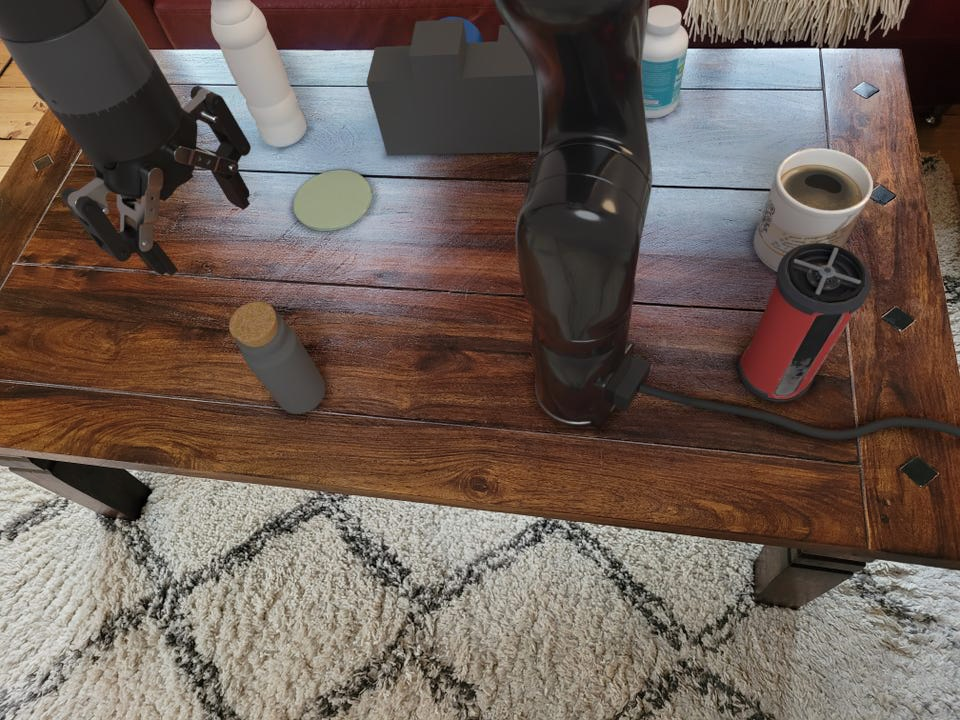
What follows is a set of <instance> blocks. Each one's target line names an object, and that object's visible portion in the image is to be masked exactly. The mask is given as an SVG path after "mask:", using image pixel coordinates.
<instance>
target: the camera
mask: <svg viewBox="0 0 960 720" xmlns="http://www.w3.org/2000/svg"><path fill="white" fill-rule="evenodd" d="M371 58H372V59H371V62H370V66H369V70H368V74H367V77H366V81H365V82H366V85H367V89H368V92H369V93H368V94H369V96H370V99H371V103H372V107H373V111H374V114H375V118H376V121H377V124H378V128H379V131H380V135H381V139H382V142H383V146H384V149H385V152H386V156H388V157H389V156H421V155H424V156H425V155H462V154H496V153H498V154H499V153H501V154H502V153H504V154H505V153H537V152H538V151H539V139H540V126H539V106H538V95H537V87H536V81H535V76H534V73H533V69H532V66H531V64H530V61H529V59H528V57H527V56H526V54H525V52H524V51H523V49H522V48H521V46H520V45H519V43H518V42H517V41H516V39H515V38H514V36H513V35H512V33H511V32H510V30H509V29H508V27H507V25H506V24H499V26H498V37H497V41H483V37H482V34H481V32H480V30H479V28H478V27H477V26H475V24H474V23H472V22H471V21H469V20H468V19H466V18H464V17H459V16H447V17H444V18H440V19H438V20H419V21H415V24H414V29H413V33H412V38H411V43H410V45H395V46H375V47H374V49H373V54H372V57H371Z"/></svg>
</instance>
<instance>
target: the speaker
mask: <svg viewBox="0 0 960 720" xmlns="http://www.w3.org/2000/svg"><path fill="white" fill-rule="evenodd" d="M871 290H872V277H871V274H870V272H869V269H868V268H867V266H866V265H865V264H864V262H863V261H862V260H861V259H860V258H859V257H858V256H857V255H856V254H854V253H852V252H851V251H850V250H848V249H846V248H844V247H843V248H841V247H839V246H836V245H831V244H825V243H810V244H804V245H800V246H798V247H795V248H794V249H792V250H790V251H789V252H787V253H786V254H785V255H784V257H783V258H782V259H781V261H780V263H779V266H778V270H777V272H776V280H775V283H774V286H773V288H772V291H771V293H770V295H769V298H768V301H767V304H766V305H765V309H764V311H763V313H762V316H761V318H760V320H759V323H758V325H757V327H756V329H755V331H754V333H753V335H752V338H751V340H750V342H749V343H748V345H746V347H745V348H744V349H743V350H742V351H741V354H740V356H739V358H738V361H737V372H738V376H739V378H740V380H741V382H742V384H743V385H744V386H745V387H746V388H747V390H749V392H751V393H752V394H753V395H755V396H757V397H759V398H762V399H764V400H765V401H766V400H767V401H771V402H776V403H778V402H779V403H781V402H782V403H783V402H784V403H785V402H791V401H794V400H797V399H799V398H800V397H802V396H803V395H805V394H806V393H807V391H809V389H810V388H811V386H812V384H813V383H814V380H815V376H816V374H817V373H818V371H819V370H820V369H821V366H822V365H823V363H824V362H825V361H826V360H827V359H826V358H827V357H828V355H829V354H830V353H831V351H832V349H833V348H834V346H835V344H836V343H837V342H838V340H839V338H840V337H841V336H842V333H843V332H844V330H845V328H847V325H848V324H849V323H850V321H851V320H852V318H853V316H854V315H855V313H856V312H857V311H858V310H859V309H860V308H861V307H862V306H863V304H864V303H865V301H867V298H868V297H869V295H870V293H871Z"/></svg>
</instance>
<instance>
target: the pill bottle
mask: <svg viewBox="0 0 960 720" xmlns="http://www.w3.org/2000/svg"><path fill="white" fill-rule="evenodd" d="M688 47H689V34H688V32H687V29H686V28H685V27H684V26H683V25H682V12H681V10H679V8H677V7H675V6H673V5H668V4H667V5H666V4H659V5H654V6H652V7H649V12H648V20H647V27H646V34H645V41H644V48H643V57H642V86H643V97H644V107H645V116H646V119H657V118H658V119H659V118H663V117H665V116H667V115H669V114H671V113H672V112H674V110H675V109H676V108H677V106H678V103H679V99H680V93H681V89H682V82H683V76H684V70H685V65H686V58H687V52H688Z"/></svg>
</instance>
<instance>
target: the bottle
mask: <svg viewBox="0 0 960 720" xmlns="http://www.w3.org/2000/svg"><path fill="white" fill-rule="evenodd" d="M228 329H229V332H230V335H231V336H232V337H233V338H234V340H235V344H236V345H237V347H238V348H239V349H240V351H241V355H242V358H243V360H244V362H245V363H246V364H247V366H248V367H249V369H250V370H251V371H252V372H253V374H254V375H255V376H256V378H257V379H258V380H259V381H260V383H261V384H262V386H263V387H264V388H265V390H267V392H268V393H269V394H270V396H271V398H273V400H274V401H275V402H276V403H277V405H278V406H279V407H280V408H281V409H282V410H284V411H285V412H287V413H289V414H293V415H298V414H299V415H302V414H305V413H308V412H311V411H312V410H314V409H315V408H317V407H318V406H319V405H320V404H321V402H322V401H323V399H324V397H325V395H326V391H327V390H326V389H327V388H326V387H327V386H326V381H325V380H324V377H323V376H322V374H321V372H320V371H319V368H318V367H317V365H316V364H315V362H314V360H312V358H311V355H310V354H309V352H308V351H307V350H306V348H305V346H304V344H303V343H302V341H301V339H300V338H299V337H298V335H297V333H296V332H295V330H294V329H293V328H292V327H291V326H290V325H288V324H287V323H286V322H285V321H284V319H283V318H282V316H281V315H280V314H278V313H277V312H276V310H275V309H274V307H273V306H272V305H270V303H267V302H265V301H258V300H257V301H251V302H248V303H245V304H243V305H241V306H240V307H238V308H237V309H236V310H235V311H234V312H233V314H232V315H231V317H230V319H229V323H228Z"/></svg>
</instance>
